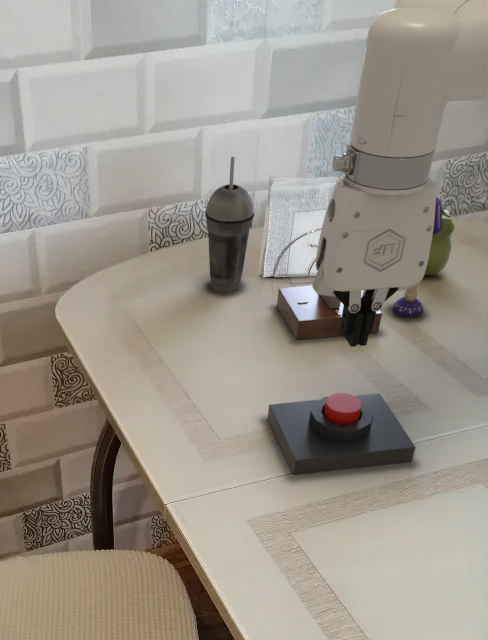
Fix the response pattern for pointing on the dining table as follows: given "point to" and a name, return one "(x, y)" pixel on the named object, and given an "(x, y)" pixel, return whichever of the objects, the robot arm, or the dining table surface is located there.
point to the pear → (440, 246)
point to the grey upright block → (332, 301)
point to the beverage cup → (228, 233)
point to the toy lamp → (409, 303)
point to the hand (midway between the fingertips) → (353, 339)
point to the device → (339, 436)
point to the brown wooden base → (312, 313)
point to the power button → (342, 408)
